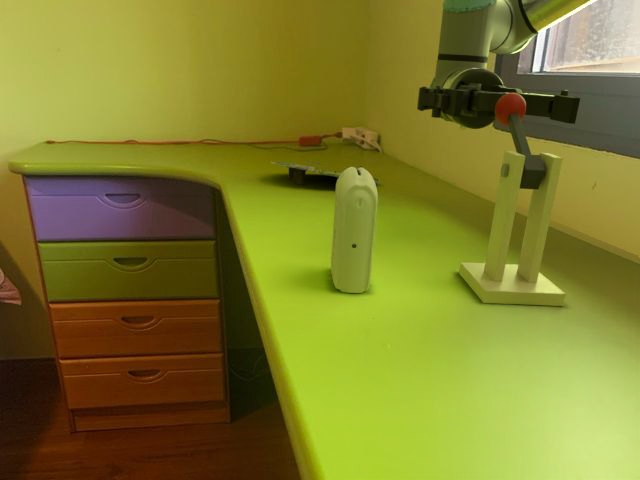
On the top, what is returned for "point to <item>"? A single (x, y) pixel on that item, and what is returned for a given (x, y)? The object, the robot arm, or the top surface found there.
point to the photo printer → (353, 230)
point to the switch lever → (520, 138)
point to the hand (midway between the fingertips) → (517, 107)
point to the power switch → (523, 279)
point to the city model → (299, 170)
